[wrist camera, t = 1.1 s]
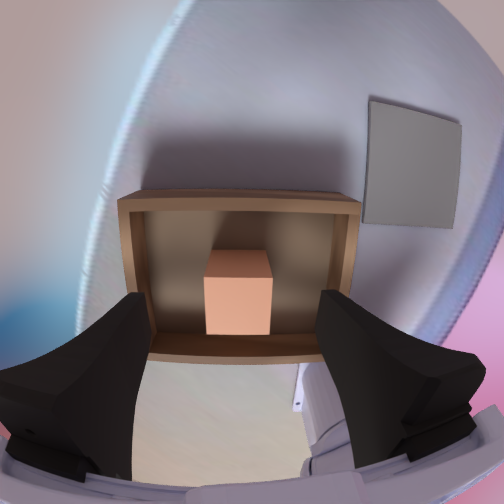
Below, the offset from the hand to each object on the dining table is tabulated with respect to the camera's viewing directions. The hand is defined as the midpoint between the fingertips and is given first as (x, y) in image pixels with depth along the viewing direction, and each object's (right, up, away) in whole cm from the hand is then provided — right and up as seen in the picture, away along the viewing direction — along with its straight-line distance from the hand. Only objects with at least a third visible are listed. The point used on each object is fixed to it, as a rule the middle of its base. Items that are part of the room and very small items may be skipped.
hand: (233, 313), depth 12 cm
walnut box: (0, +1, +12) cm, 12 cm away
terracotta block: (0, +1, +11) cm, 11 cm away
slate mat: (+15, +10, +10) cm, 20 cm away
